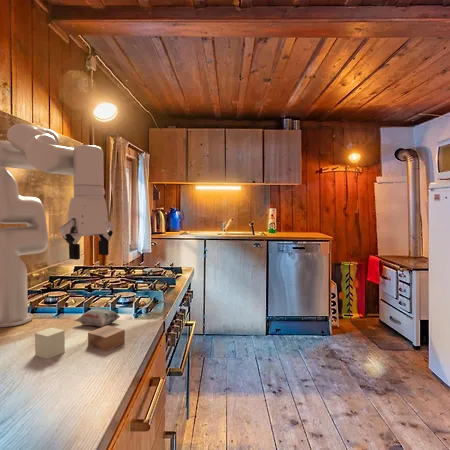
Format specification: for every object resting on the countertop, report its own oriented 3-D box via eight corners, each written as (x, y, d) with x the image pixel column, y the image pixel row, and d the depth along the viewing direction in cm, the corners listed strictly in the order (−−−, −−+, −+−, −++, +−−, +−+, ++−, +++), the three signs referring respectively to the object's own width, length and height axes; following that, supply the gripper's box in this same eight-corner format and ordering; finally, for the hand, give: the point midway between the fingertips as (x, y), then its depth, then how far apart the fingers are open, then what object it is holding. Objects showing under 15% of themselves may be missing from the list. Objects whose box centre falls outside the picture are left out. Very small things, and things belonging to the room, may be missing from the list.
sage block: (35, 355, 90) (34, 332, 90) (52, 348, 95) (52, 327, 94) (47, 359, 88) (47, 336, 88) (64, 352, 92) (64, 330, 92)
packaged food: (103, 331, 108) (103, 315, 108) (73, 326, 112) (73, 311, 112) (120, 323, 117) (120, 308, 116) (92, 318, 121) (92, 305, 120)
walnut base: (88, 346, 97) (88, 332, 97) (107, 338, 103) (107, 325, 103) (105, 351, 94) (105, 337, 93) (124, 343, 100) (124, 329, 100)
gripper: (103, 194, 101) (103, 252, 102) (50, 191, 85) (51, 260, 86) (122, 194, 98) (123, 254, 98) (71, 191, 82) (72, 262, 83)
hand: (89, 256), depth 92 cm, fingers open, 9 cm apart
